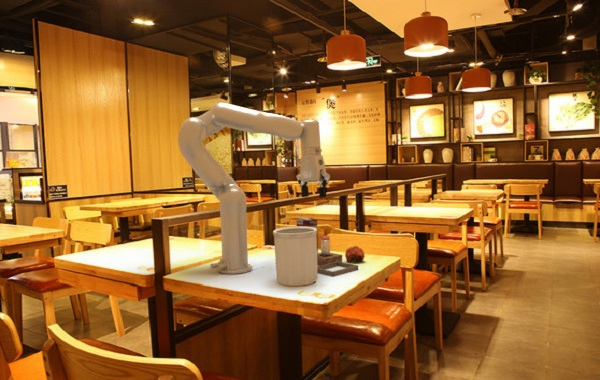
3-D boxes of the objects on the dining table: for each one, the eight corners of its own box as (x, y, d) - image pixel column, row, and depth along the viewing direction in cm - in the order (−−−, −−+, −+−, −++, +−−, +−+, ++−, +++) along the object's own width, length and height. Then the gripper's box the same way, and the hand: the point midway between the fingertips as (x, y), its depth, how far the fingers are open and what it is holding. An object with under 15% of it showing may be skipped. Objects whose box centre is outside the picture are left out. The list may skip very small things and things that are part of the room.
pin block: (325, 269, 165) (325, 258, 165) (309, 265, 172) (308, 255, 171) (342, 265, 171) (342, 254, 170) (325, 261, 178) (325, 251, 177)
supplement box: (296, 255, 191) (295, 218, 190) (305, 253, 194) (304, 217, 193) (310, 258, 184) (309, 220, 183) (318, 256, 188) (317, 219, 186)
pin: (325, 264, 169) (325, 237, 168) (319, 263, 171) (318, 236, 171) (332, 262, 171) (331, 236, 170) (325, 261, 173) (325, 235, 173)
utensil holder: (272, 287, 144) (270, 233, 143) (277, 275, 159) (275, 226, 157) (318, 286, 143) (316, 232, 142) (318, 274, 158) (317, 225, 157)
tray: (332, 279, 151) (332, 272, 151) (312, 274, 158) (312, 267, 158) (358, 272, 160) (358, 265, 159) (338, 267, 167) (337, 261, 167)
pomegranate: (365, 271, 169) (367, 251, 176) (360, 259, 164) (363, 239, 172) (346, 272, 172) (349, 252, 179) (341, 260, 167) (344, 240, 174)
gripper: (334, 150, 166) (337, 196, 168) (302, 153, 179) (305, 195, 180) (320, 151, 161) (323, 198, 163) (288, 154, 174) (291, 197, 175)
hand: (313, 197), depth 172 cm, fingers open, 9 cm apart
